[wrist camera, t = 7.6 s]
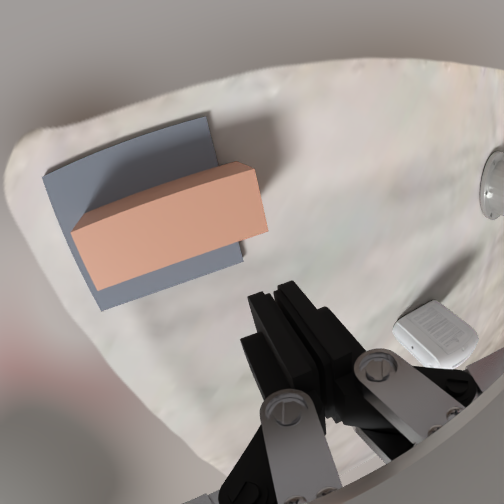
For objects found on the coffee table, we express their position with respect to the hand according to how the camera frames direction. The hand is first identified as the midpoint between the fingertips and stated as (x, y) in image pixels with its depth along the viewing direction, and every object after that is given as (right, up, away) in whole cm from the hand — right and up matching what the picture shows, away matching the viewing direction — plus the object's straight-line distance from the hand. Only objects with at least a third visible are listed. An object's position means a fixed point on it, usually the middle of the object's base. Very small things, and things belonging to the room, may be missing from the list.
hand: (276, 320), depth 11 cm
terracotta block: (-1, +7, +14) cm, 16 cm away
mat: (-10, +5, +15) cm, 19 cm away
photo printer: (+26, -8, +34) cm, 43 cm away
